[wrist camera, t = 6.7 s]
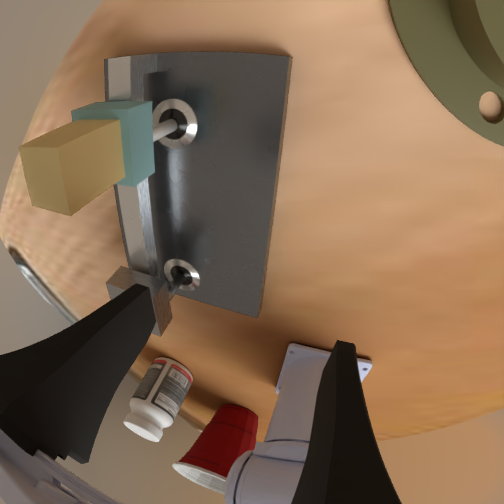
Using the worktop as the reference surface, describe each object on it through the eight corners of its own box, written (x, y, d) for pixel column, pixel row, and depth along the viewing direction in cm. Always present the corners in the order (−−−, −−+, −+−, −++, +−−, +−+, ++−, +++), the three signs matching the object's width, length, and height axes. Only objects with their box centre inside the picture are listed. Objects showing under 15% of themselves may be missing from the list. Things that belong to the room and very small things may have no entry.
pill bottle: (159, 373, 39) (127, 430, 32) (150, 350, 36) (112, 412, 28) (196, 386, 38) (166, 448, 30) (191, 364, 35) (156, 433, 27)
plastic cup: (247, 391, 35) (214, 478, 25) (289, 428, 39) (266, 502, 29) (188, 393, 40) (153, 462, 31) (231, 427, 44) (206, 490, 35)
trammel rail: (188, 298, 26) (161, 340, 22) (148, 285, 26) (119, 323, 23) (181, 52, 14) (126, 56, 10) (125, 56, 15) (68, 66, 11)
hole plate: (260, 309, 25) (257, 319, 24) (137, 272, 28) (130, 280, 27) (292, 56, 14) (288, 56, 13) (113, 57, 16) (102, 59, 15)
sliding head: (177, 156, 18) (81, 228, 11) (126, 151, 19) (29, 213, 12) (177, 93, 16) (63, 135, 9) (123, 93, 16) (12, 136, 10)
